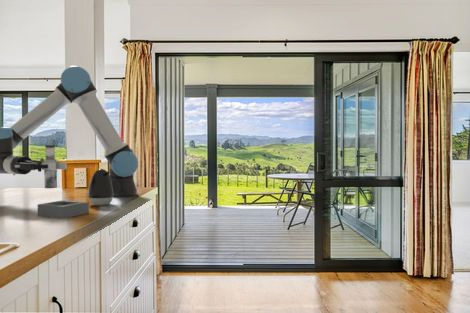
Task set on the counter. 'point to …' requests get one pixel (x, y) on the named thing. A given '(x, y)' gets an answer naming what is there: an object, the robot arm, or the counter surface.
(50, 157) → the tube
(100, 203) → the dark grey egg shape
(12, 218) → the counter surface
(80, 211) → the socket block
